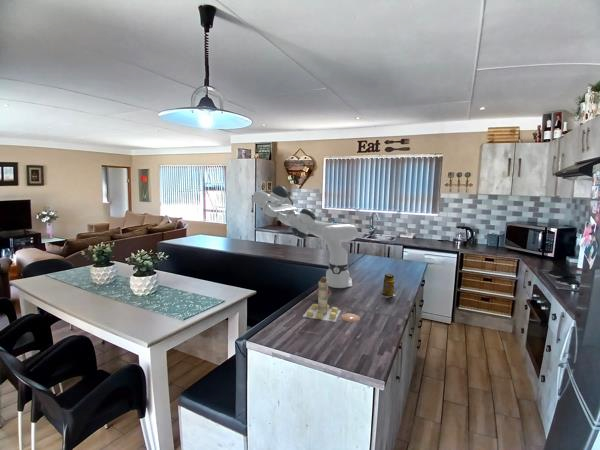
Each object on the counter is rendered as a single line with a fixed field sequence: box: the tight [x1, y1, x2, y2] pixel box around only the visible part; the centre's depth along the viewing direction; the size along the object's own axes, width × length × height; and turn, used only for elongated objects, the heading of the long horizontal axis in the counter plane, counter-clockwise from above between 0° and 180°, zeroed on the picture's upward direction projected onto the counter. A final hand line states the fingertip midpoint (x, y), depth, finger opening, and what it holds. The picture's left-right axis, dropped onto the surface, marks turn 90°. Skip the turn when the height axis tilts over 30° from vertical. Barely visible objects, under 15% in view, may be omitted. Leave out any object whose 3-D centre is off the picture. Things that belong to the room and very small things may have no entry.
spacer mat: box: [302, 303, 341, 323], centre depth 156 cm, size 14×16×3 cm
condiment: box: [377, 273, 397, 299], centre depth 185 cm, size 7×8×12 cm
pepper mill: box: [317, 276, 329, 315], centre depth 155 cm, size 5×5×19 cm
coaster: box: [340, 312, 361, 323], centre depth 152 cm, size 9×9×1 cm
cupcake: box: [315, 287, 332, 301], centre depth 174 cm, size 9×8×12 cm
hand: (291, 216), depth 169 cm, fingers open, 8 cm apart
